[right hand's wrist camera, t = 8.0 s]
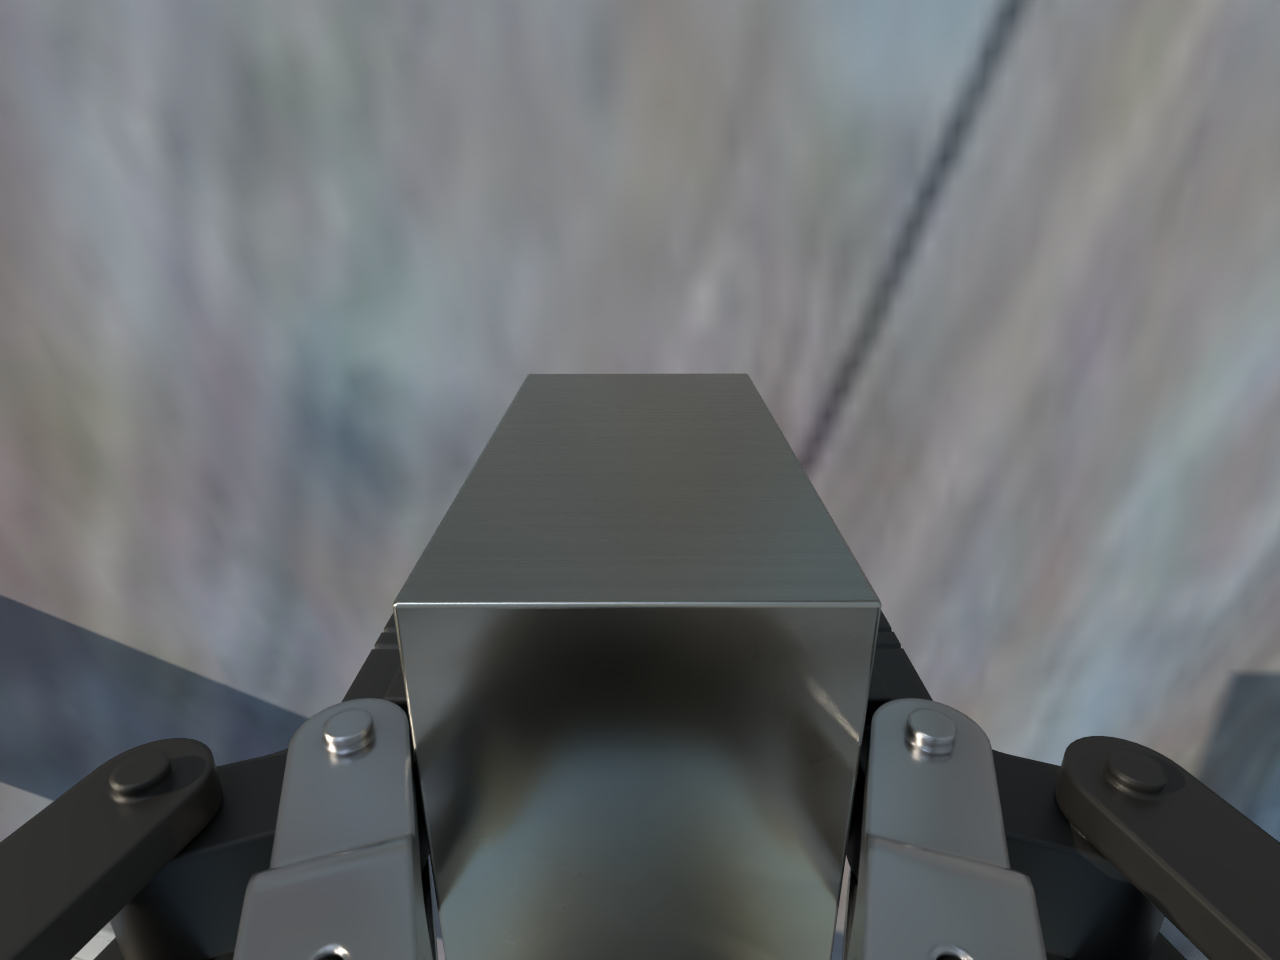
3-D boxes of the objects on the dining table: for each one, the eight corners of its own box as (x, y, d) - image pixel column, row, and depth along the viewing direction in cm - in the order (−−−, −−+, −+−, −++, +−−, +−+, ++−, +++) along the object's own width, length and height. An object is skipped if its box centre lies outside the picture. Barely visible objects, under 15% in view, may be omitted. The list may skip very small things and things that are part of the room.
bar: (527, 373, 15) (390, 603, 7) (748, 372, 15) (884, 602, 7) (568, 1057, 24) (530, 1536, 15) (710, 1057, 24) (750, 1535, 15)
